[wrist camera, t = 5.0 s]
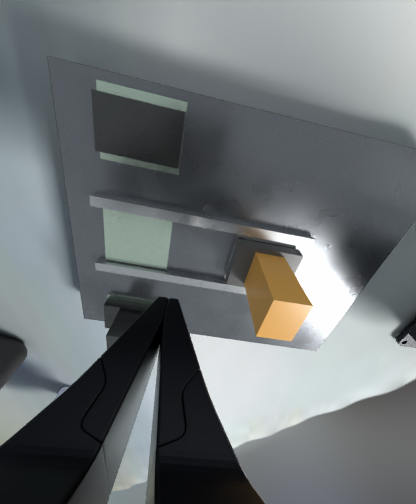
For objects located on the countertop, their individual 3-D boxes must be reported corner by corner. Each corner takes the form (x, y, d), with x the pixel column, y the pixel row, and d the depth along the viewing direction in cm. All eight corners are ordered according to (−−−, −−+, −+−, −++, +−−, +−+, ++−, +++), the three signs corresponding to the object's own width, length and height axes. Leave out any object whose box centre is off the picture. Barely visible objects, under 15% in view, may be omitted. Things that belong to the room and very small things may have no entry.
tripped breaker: (298, 249, 13) (340, 305, 9) (280, 286, 15) (309, 348, 10) (237, 238, 13) (251, 290, 8) (225, 276, 14) (232, 337, 10)
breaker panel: (424, 156, 12) (541, 170, 8) (306, 332, 20) (332, 387, 16) (74, 68, 10) (-22, 23, 6) (95, 301, 18) (61, 353, 14)
